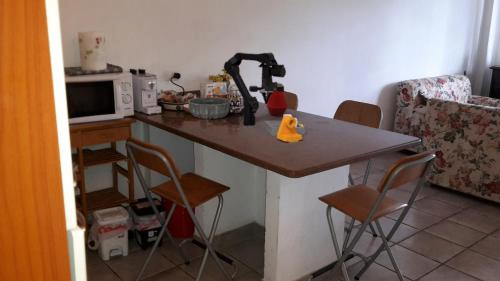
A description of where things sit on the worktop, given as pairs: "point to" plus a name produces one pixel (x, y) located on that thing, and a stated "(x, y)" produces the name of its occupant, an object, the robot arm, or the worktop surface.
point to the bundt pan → (209, 107)
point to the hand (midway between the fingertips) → (266, 104)
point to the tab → (286, 115)
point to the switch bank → (275, 125)
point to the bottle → (277, 103)
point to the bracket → (288, 130)
